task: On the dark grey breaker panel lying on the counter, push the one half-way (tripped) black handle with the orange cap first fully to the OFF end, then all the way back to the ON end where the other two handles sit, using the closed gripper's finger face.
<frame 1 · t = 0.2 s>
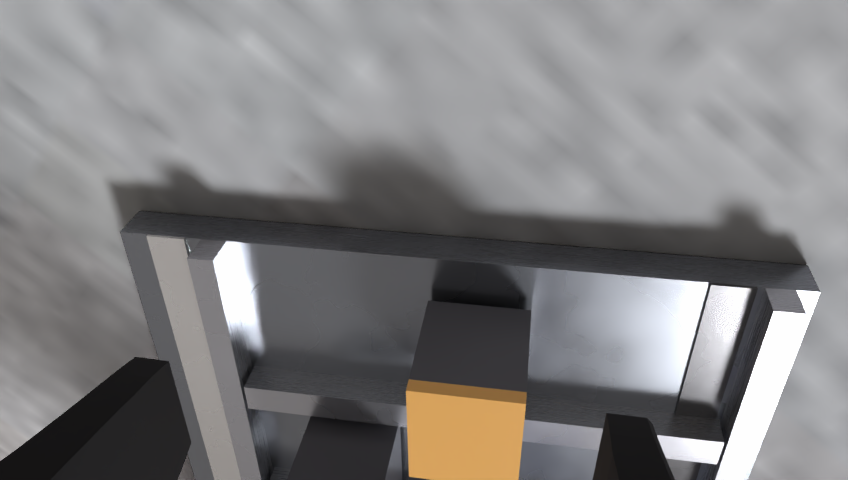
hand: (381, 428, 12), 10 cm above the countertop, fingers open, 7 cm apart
panel: (449, 419, 26), on the countertop
breaker tripped: (471, 392, 20), point 3 cm above the countertop, slide at 4.0 cm
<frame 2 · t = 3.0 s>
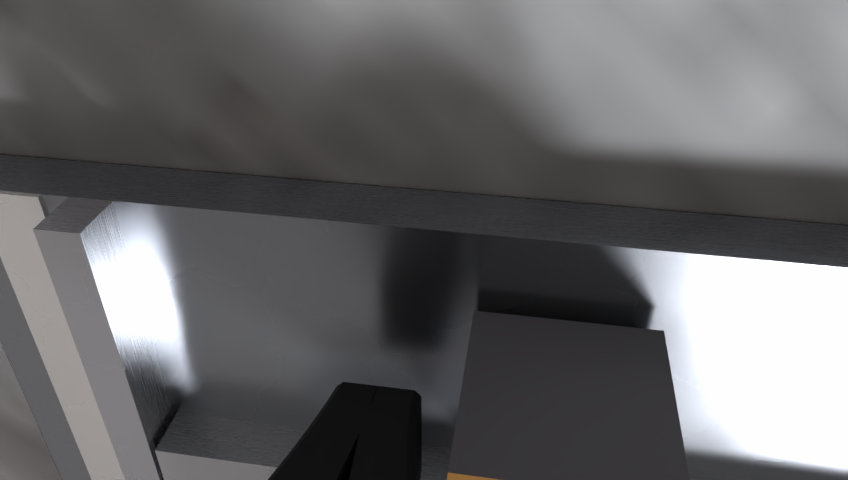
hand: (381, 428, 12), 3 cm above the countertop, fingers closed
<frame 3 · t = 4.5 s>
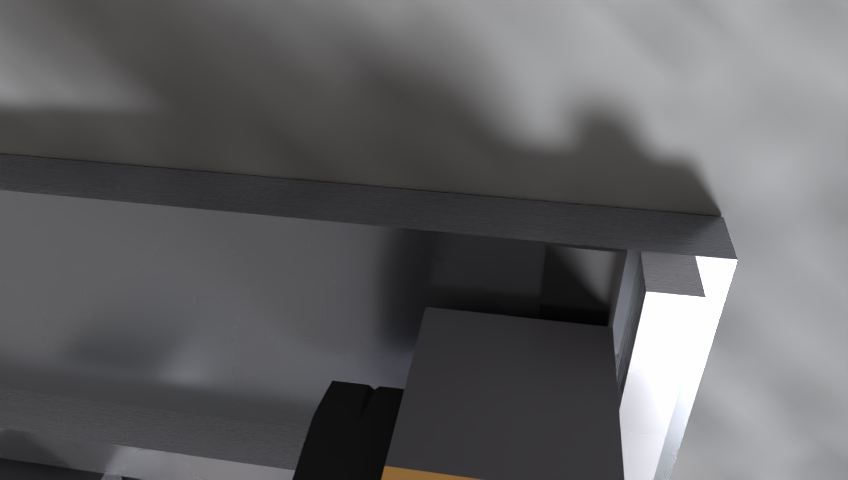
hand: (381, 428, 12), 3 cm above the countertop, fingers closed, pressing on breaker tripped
panel: (217, 456, 17), on the countertop
breaker tripped: (502, 476, 11), point 3 cm above the countertop, slide at -1.9 cm, touching gripper
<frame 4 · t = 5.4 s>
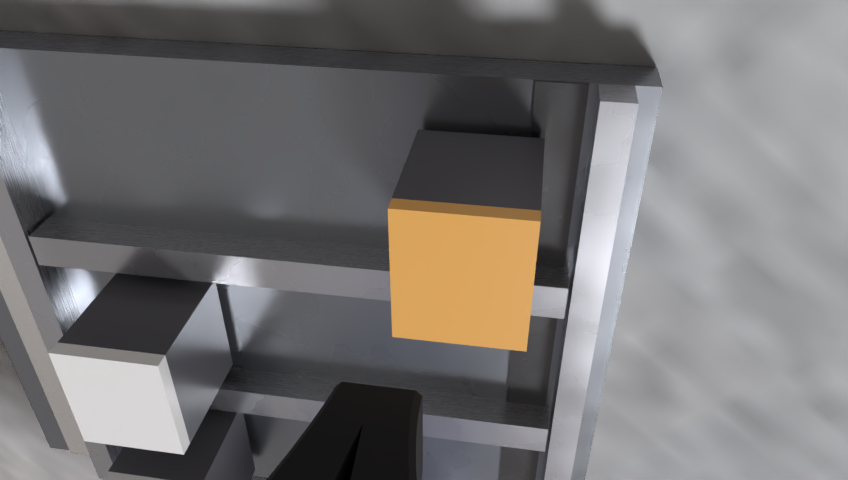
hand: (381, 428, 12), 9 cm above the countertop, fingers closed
breaker a: (185, 475, 23), point 3 cm above the countertop, slide at 8.0 cm
panel: (286, 291, 23), on the countertop
breaker b: (150, 359, 21), point 3 cm above the countertop, slide at 8.0 cm
breaker tripped: (469, 235, 16), point 3 cm above the countertop, slide at -1.0 cm
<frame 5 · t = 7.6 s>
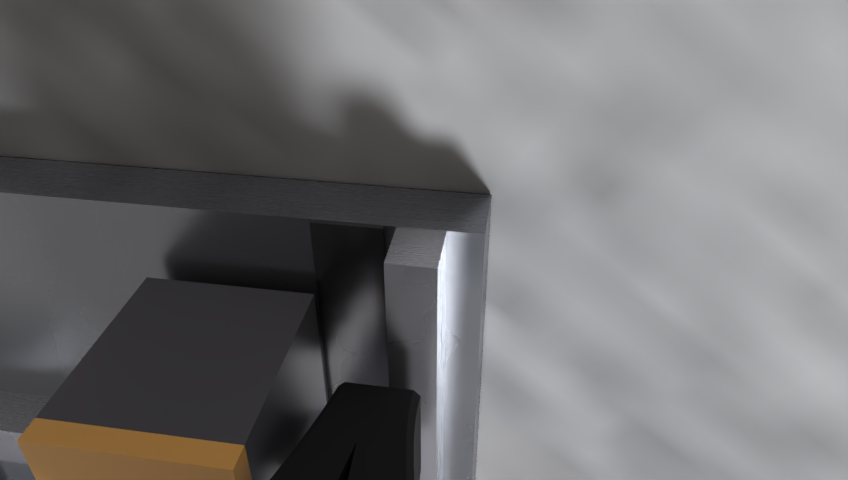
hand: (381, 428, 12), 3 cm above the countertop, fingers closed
panel: (77, 438, 18), on the countertop
breaker tripped: (203, 435, 12), point 3 cm above the countertop, slide at -0.7 cm, touching gripper
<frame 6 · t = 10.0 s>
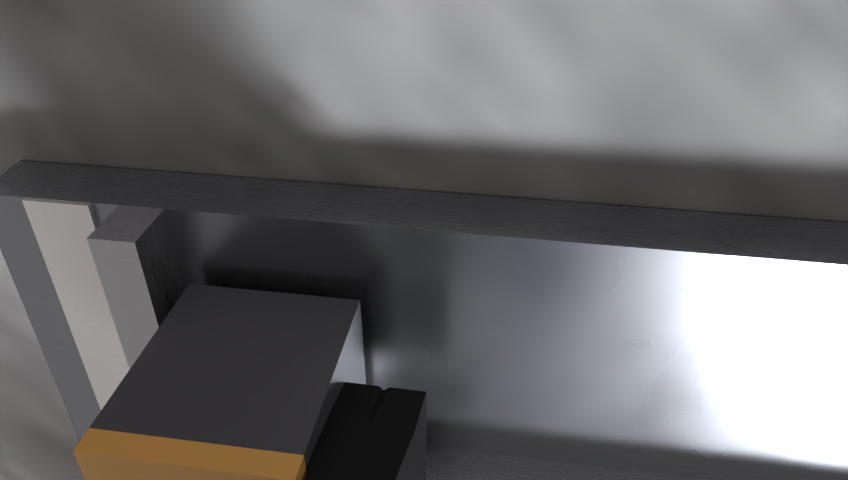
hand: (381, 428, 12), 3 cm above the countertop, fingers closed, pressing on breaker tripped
breaker tripped: (249, 443, 12), point 3 cm above the countertop, slide at 9.8 cm, touching gripper
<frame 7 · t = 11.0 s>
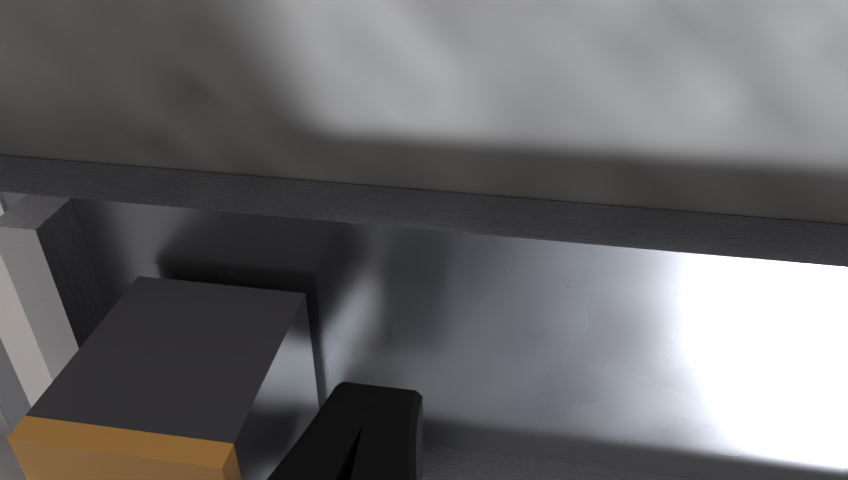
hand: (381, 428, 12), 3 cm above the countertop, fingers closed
breaker tripped: (194, 433, 12), point 3 cm above the countertop, slide at 9.0 cm
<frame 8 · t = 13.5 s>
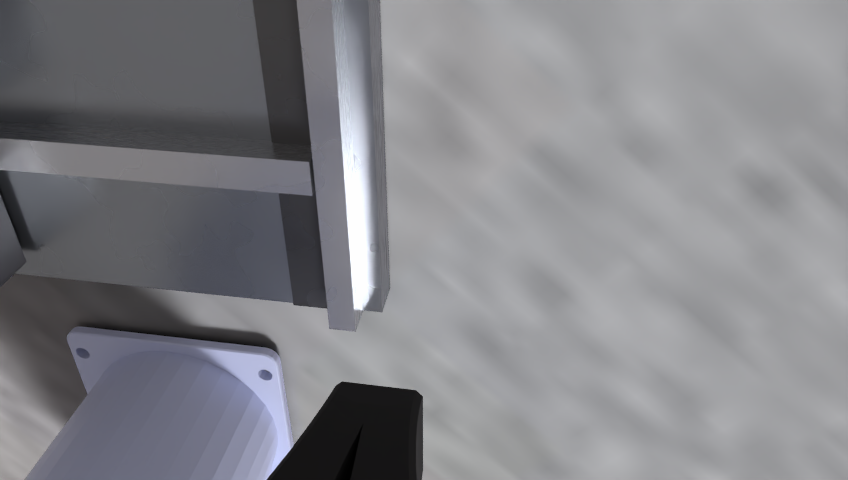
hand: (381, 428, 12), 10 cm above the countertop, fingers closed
panel: (27, 25, 20), on the countertop
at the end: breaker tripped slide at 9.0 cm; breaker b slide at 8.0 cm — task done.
